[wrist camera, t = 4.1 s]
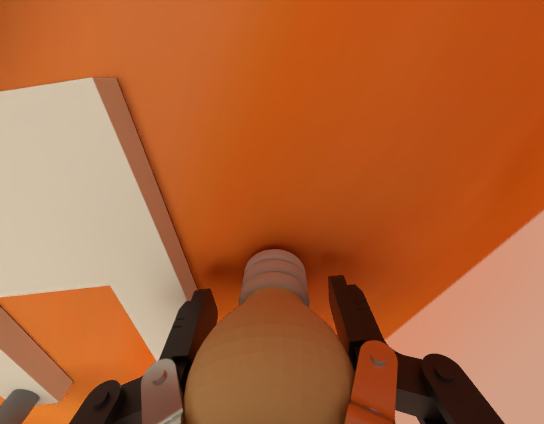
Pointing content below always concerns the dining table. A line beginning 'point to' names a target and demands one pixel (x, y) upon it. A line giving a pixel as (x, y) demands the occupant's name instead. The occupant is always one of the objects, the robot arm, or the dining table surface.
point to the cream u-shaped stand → (79, 224)
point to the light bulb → (270, 355)
